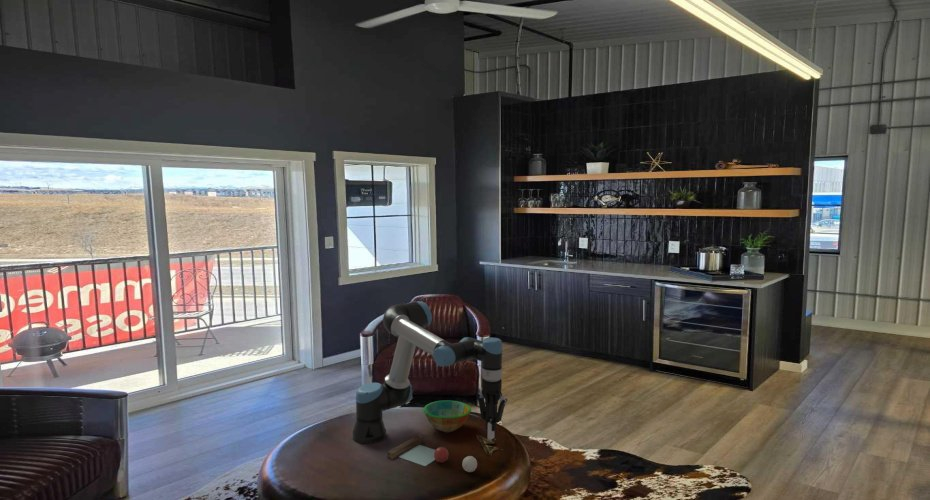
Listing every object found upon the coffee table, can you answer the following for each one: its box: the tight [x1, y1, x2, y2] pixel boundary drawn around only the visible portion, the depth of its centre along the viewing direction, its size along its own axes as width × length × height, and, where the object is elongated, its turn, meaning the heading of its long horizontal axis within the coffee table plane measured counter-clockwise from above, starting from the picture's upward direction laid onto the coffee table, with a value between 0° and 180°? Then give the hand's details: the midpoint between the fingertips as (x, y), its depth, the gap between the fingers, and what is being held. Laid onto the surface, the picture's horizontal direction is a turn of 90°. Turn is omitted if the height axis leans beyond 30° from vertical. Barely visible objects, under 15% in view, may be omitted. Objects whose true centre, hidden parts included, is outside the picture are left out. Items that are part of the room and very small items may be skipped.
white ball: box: [461, 455, 478, 473], centre depth 224 cm, size 6×6×6 cm
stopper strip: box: [386, 435, 423, 460], centre depth 243 cm, size 2×20×2 cm, turn 146°
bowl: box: [422, 399, 472, 433], centre depth 264 cm, size 22×22×10 cm
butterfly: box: [475, 433, 504, 457], centre depth 246 cm, size 18×4×10 cm
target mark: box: [398, 444, 436, 467], centre depth 238 cm, size 14×14×1 cm
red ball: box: [434, 446, 449, 464], centre depth 232 cm, size 6×6×6 cm
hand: (490, 438), depth 218 cm, fingers closed
